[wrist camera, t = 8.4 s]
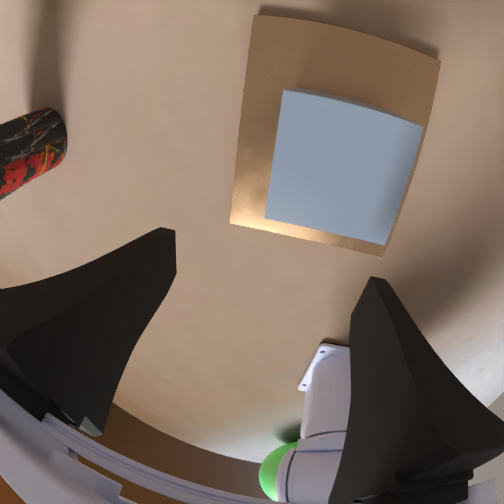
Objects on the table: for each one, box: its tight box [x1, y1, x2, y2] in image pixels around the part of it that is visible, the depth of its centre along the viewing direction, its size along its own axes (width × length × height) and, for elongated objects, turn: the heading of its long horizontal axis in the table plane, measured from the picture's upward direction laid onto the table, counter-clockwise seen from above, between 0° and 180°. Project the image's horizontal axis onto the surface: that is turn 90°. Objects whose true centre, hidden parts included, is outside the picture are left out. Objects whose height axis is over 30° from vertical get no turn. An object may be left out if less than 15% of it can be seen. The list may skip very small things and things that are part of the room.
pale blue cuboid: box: [264, 87, 423, 245], centre depth 13 cm, size 5×5×7 cm
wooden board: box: [230, 15, 441, 257], centre depth 14 cm, size 14×11×6 cm
